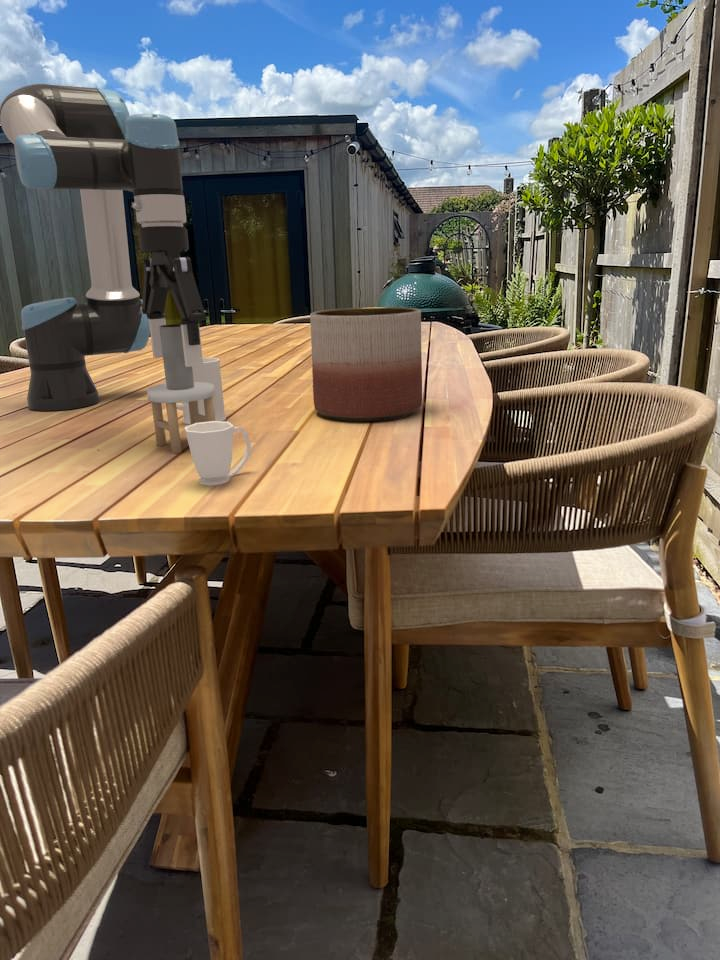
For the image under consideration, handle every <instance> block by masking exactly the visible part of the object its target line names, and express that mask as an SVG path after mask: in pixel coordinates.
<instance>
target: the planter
mask: <svg viewBox="0 0 720 960" xmlns="http://www.w3.org/2000/svg"><path fill="white" fill-rule="evenodd" d="M309 318H310V321H309V322H310V340H311V342H310V343H311V344H310V345H311V368H312V369H311V371H312V391H313V392H312V393H313V394H312V395H313V406H314V409H315V411H316V412H317V413H319V414H320V415H322V416H324V417H326V418H329V419H333V420H338V421H347V422H380V421H381V422H382V421H388V420H395V419H401V418H404V417H407V416H409V415H412V414H414V413H415V412H417V411H418V410H419V409H420V408H421V407H422V405H423V369H422V368H423V367H422V361H423V360H422V311H421V309H418V308H415V307H403V306H402V307H400V306H399V307H398V306H376V307H375V306H373V307H372V306H371V307H367V306H365V307H348V308H346V307H345V308H332V309H324V310H322V309H321V310H318V311H313V312H311V313H310V315H309Z"/></svg>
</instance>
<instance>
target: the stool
mask: <svg viewBox="0 0 720 960" xmlns="http://www.w3.org/2000/svg"><path fill="white" fill-rule="evenodd" d="M146 392H147V393H146V394H147V400H148V401H149V402H151V410H152V416H153V417H152V418H153V425H154V432H155V442H156V446H157V447H161V446H162V447H163V445H164V446H166V445H167V439H166V431H168V432H169V440H170V450H171V454H180V453H182V444H181V436H180V425H179V418H178V409H177V408H176V404H177V403H178V404H180V403H182V402H188V404H189V413H190V422H191V425H192V424H195V423H200V422H209V421H215V412H214V402H213V396H214V395H215V392H214V385H213V384H211V383H206V382H194V387H192V388H188V389H181V390H171V389H167V386H166V384H164V383H163V384H158V385H155V386H152V387H151V386H150V387H149V388H147V389H146ZM203 399H204V409H205V416H204V415H201V414H199V410H198V401H197V400H203ZM162 404H165V408H166V415H167V416H166V417H167V420H164V416H163V405H162Z"/></svg>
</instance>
